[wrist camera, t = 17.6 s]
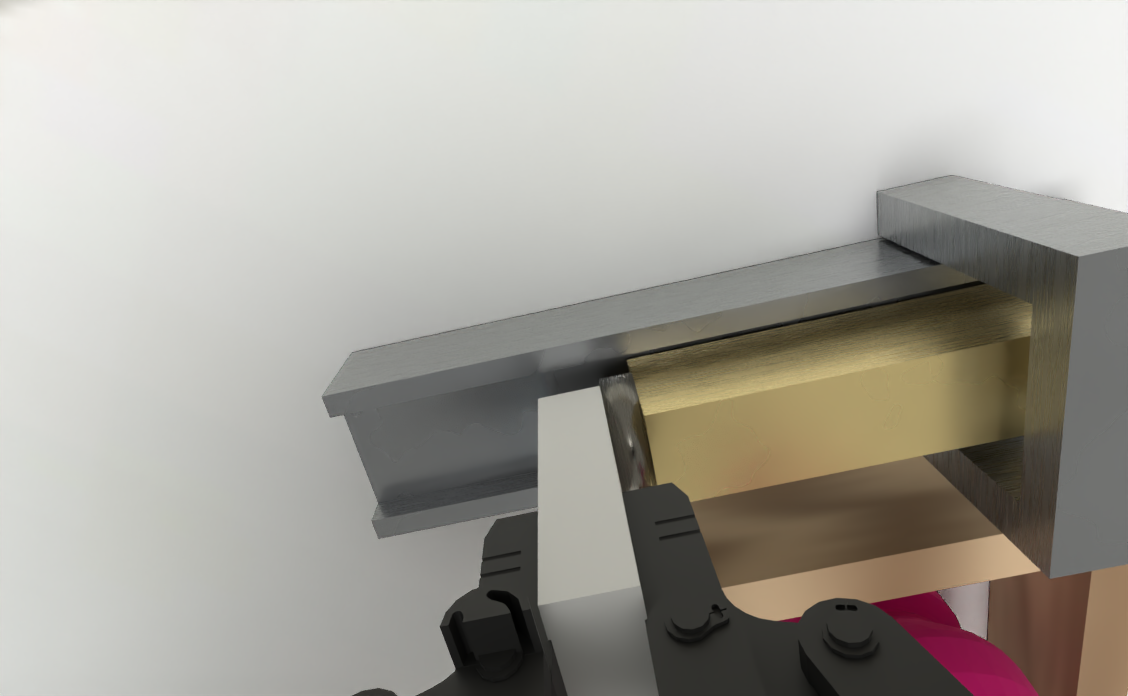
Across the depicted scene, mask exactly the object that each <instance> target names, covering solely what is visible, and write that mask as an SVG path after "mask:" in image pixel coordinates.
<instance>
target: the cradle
mask: <svg viewBox="0 0 1128 696" xmlns="http://www.w3.org/2000/svg"><path fill="white" fill-rule="evenodd" d="M690 503H691V505H692V508H693V511H694V514H695V518H696V519H697V522H698V525H699V528H700V531H701V533H702V536H703V539H704V541H705V544H706V547H707V550H708V552H709V555H710V558H711V561H712V563H713V566H714V569H715V572H716V574H717V577H718V580H719V583H720V585H721V588H722V590H723V592H724V594H725V596H726V597H727V599H728V600H729V601H730V602H731V603H732V604H733V605H734V606H735V607H737V608H739V609H740V610H742V611H743V612H745V613H747V614H749V615H752V616H755V617H758V618H761V619H767V620H773V621H780V620H785V619H790V618H796V617H801V616H802V615H803V614H804V612H805V610H807V609H809V608H810V607H812V606H813V605H815V604H816V603H818V602H820V601H824V600H829V599H833V598H847V599H857V600H860V601H863V602H866V603H874V602H880V601H885V600H890V599H896V598H901V597H906V596H911V595H917V594H922V593H927V592H932V591H938V590H943V589H948V588H953V587H959V586H964V585H969V584H974V583H980V582H985V581H990V597H989V619H988V640H987V641H989V642H990V643H992V644H993V645H995V646H996V647H998V648H999V649H1001V650H1002V651H1003V652H1004V653H1005V654H1006V655H1007V656H1008V657H1009V658H1010V659H1011V660H1012V661H1013V662H1014V663H1015V664H1016V665H1017V666H1018V667H1019V668H1020V669H1021V671H1022V672H1023V673H1024V675H1025V676H1026V678H1027V679H1028V681H1029V682H1030V683H1031V685H1032V686H1033V688H1034V689H1035V690H1036V692H1037V693H1038V695H1039V696H1127V693H1128V564H1126V565H1121V566H1116V567H1111V568H1105V569H1100V570H1095V571H1089V572H1084V573H1079V574H1074V575H1068V576H1063V577H1058V578H1052V579H1049V578H1048V577H1047V576H1046V575H1045V574H1044V573H1043V572H1042V571H1041V570H1040V569H1039V568H1038V567H1037V566H1036V565H1035V564H1033V563H1032V562H1031V561H1030V560H1029V559H1028V558H1027V557H1026V556H1025V555H1024V554H1023V553H1022V552H1021V551H1020V550H1019V549H1018V548H1017V547H1016V546H1015V545H1014V544H1013V543H1012V542H1011V541H1010V540H1009V539H1008V538H1007V537H1006V536H1005V535H1004V534H1003V533H1002V532H1001V531H1000V530H999V529H997V528H996V527H995V526H994V525H993V524H992V523H991V522H990V521H989V520H988V519H987V518H986V517H985V516H984V515H983V514H982V513H981V512H980V511H979V510H978V509H977V508H976V507H975V506H974V505H973V504H972V503H971V502H970V501H969V500H968V499H967V498H966V497H965V496H964V495H962V494H961V493H960V492H959V491H958V490H957V489H956V488H955V487H954V486H953V485H952V484H951V483H950V482H949V481H948V480H947V479H946V478H945V477H944V476H943V475H942V474H941V473H940V472H939V471H938V470H937V469H936V468H935V467H934V466H933V465H932V464H931V463H930V462H929V461H927V460H926V459H925V458H924V457H923V456H919V457H914V458H909V459H904V460H899V461H894V462H889V463H884V464H879V465H874V466H869V467H864V468H859V469H854V470H849V471H844V472H839V473H834V474H829V475H824V476H819V477H814V478H808V479H803V480H798V481H793V482H788V483H783V484H778V485H773V486H768V487H763V488H758V489H753V490H748V491H743V492H738V493H733V494H728V495H723V496H718V497H713V498H708V499H703V500H698V501H693V502H690Z"/></svg>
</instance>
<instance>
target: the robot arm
mask: <svg viewBox="0 0 1128 696" xmlns="http://www.w3.org/2000/svg"><path fill="white" fill-rule="evenodd" d="M482 559H483V562H482V564H481V573H480V575H481V578H480V581H479V588H477V589H474V590H471V591H470V592H468V593H467V594H465V595H464V596H462V597H461V598H459V599H458V600H456V601H455V603H454V604H453V605H452V606H451V607H450V608H449V609H448V611H447V612H446V613H445V615H444V618H443V620H442V623H441V625H440V629H441V631H442V634H443V637H444V639H445V642H446V644H447V647H448V650H449V652H450V655H451V658H452V660H453V663H454V665H455V668H456V670H455V672H454V673H452V674H451V675H450V676H449V677H448V678H447V679H445V680H444V681H443V682H441V683H439V684H438V685H436V686H434V687H433V688H431V689H429V690H427V691H425V692H423V693H420V694H418V695H416V696H974V695H973V694H972V693H971V692H970V691H969V690H968V689H967V688H966V687H965V686H964V685H963V684H961V683H960V682H959V681H958V680H957V679H956V678H955V677H954V676H953V675H952V674H951V673H950V672H949V671H948V670H947V669H946V668H945V667H944V666H943V665H942V664H941V663H940V662H939V661H937V660H936V659H935V658H934V657H933V656H932V655H931V654H930V653H929V652H928V651H927V650H926V649H925V648H924V647H923V646H922V645H921V644H920V643H919V642H918V641H917V640H916V639H914V638H913V637H912V636H911V635H910V634H909V633H908V632H907V631H906V630H905V629H904V628H903V627H902V626H901V625H900V624H899V623H898V622H897V621H896V620H895V619H894V618H893V617H891V616H890V615H888V614H887V613H885V612H884V611H883V610H881V609H880V608H878V607H877V606H875V605H872V604H869V603H866V602H863V601H860V600H857V599H847V598H833V599H829V600H824V601H820V602H818V603H816V604H815V605H813V606H812V607H810V608H809V609H807V610H805V612H804V614H803V615H802V617H801V619H800V621H799V622H798V623H796V622H783V621H773V620H767V619H761V618H758V617H755V616H752V615H749V614H747V613H745V612H743V611H742V610H740V609H739V608H737V607H735V606H734V605H733V604H732V603H731V602H730V601H729V600H728V599H727V597H726V596H725V594H724V592H723V590H722V588H721V585H720V583H719V580H718V577H717V574H716V572H715V569H714V566H713V563H712V561H711V558H710V555H709V552H708V550H707V547H706V544H705V541H704V539H703V536H702V533H701V531H700V528H699V525H698V522H697V519H696V518H695V514H694V511H693V508H692V505H691V503H690V500H689V497H688V495H686V494H685V493H684V492H683V491H682V490H680V489H679V488H678V487H677V486H676V485H674V484H673V483H672V482H671V483H666V484H661V485H656V486H651V487H646V488H641V489H636V490H631V491H627V492H622V488H621V484H620V479H619V474H618V470H617V465H616V461H615V456H614V451H613V447H612V442H611V437H610V432H609V428H608V423H607V418H606V414H605V409H604V404H603V399H602V394H601V391H600V386H596V387H591V388H586V389H582V390H577V391H572V392H567V393H563V394H558V395H553V396H548V397H543V398H539V399H538V511H536V512H531V513H527V514H522V515H517V516H512V517H507V518H502V519H497V520H496V521H495V523H494V525H493V526H492V528H491V529H490V531H489V532H488V534H487V536H486V537H485V539H484V547H483V556H482ZM352 696H397V695H396V694H395V693H394V692H392V691H388V690H384V689H380V688H377V689H371V690H364V691H361V692H359V693H357V694H355V695H352Z"/></svg>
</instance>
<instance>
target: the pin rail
mask: <svg viewBox="0 0 1128 696" xmlns="http://www.w3.org/2000/svg"><path fill="white" fill-rule="evenodd" d="M877 203H878V235H879V236H881V237H883V238H880V239H875V240H871V241H866V242H862V243H857V244H852V245H848V246H843V247H838V248H834V249H829V250H824V251H820V252H815V253H811V254H806V255H801V256H797V257H792V258H787V259H783V260H778V261H774V262H769V263H764V264H760V265H755V266H750V267H746V268H741V269H737V270H732V271H727V272H723V273H718V274H713V275H709V276H704V277H700V278H695V279H690V280H686V281H681V282H676V283H672V284H667V285H663V286H658V287H653V288H649V289H644V290H639V291H635V292H630V293H626V294H621V295H616V296H612V297H607V298H602V299H598V300H593V301H589V302H584V303H579V304H575V305H570V306H565V307H561V308H556V309H552V310H547V311H542V312H538V313H533V314H528V315H524V316H519V317H515V318H510V319H505V320H501V321H496V322H491V323H487V324H482V325H477V326H473V327H468V328H464V329H459V330H454V331H450V332H445V333H440V334H436V335H431V336H427V337H422V338H417V339H413V340H408V341H403V342H399V343H394V344H390V345H385V346H380V347H376V348H371V349H366V350H362V351H357V352H353V353H351V355H350V356H349V358H348V359H347V361H346V362H345V364H344V365H343V366H342V368H341V369H340V371H339V372H338V374H337V375H336V377H335V378H334V379H333V381H332V382H331V384H330V385H329V387H328V388H327V390H326V391H325V392H324V394H323V395H322V398H323V401H324V403H325V406H326V408H327V411H328V413H329V416H330V418H331V417H335V416H340V415H344V416H345V419H346V421H347V424H348V427H349V429H350V432H351V434H352V437H353V439H354V442H355V444H356V447H357V450H358V452H359V455H360V457H361V460H362V462H363V465H364V467H365V470H366V473H367V475H368V478H369V480H370V483H371V485H372V488H373V491H374V493H375V496H376V498H377V501H378V505H377V508H376V511H375V513H374V516H373V519H372V523H373V526H374V528H375V531H376V533H377V536H378V538H379V539H380V538H385V537H390V536H395V535H400V534H405V533H410V532H415V531H420V530H425V529H430V528H435V527H440V526H445V525H449V524H454V523H459V522H464V521H469V520H474V519H479V518H484V517H489V516H494V515H499V514H504V513H509V512H514V511H519V510H524V509H529V508H534V507H538V399H539V398H543V397H548V396H553V395H558V394H563V393H567V392H572V391H577V390H582V389H586V388H591V387H596V386H599V381H598V379H601V378H606V377H610V376H615V375H620V374H625V373H629V370H628V365H627V360H628V359H633V358H638V357H642V356H647V355H652V354H657V353H661V352H666V351H671V350H675V349H680V348H685V347H690V346H694V345H699V344H704V343H709V342H713V341H718V340H723V339H728V338H732V337H737V336H742V335H746V334H751V333H756V332H761V331H765V330H770V329H775V328H780V327H784V326H789V325H794V324H799V323H803V322H808V321H813V320H817V319H822V318H827V317H832V316H836V315H841V314H846V313H851V312H855V311H860V310H865V309H870V308H874V307H879V306H884V305H888V304H893V303H898V302H903V301H907V300H912V299H917V298H922V297H926V296H931V295H936V294H941V293H945V292H950V291H955V290H959V289H964V288H969V287H974V286H978V285H983V284H988V285H990V286H992V287H995V288H997V289H999V290H1001V291H1004V292H1006V293H1008V294H1010V295H1013V296H1015V297H1017V298H1019V299H1021V300H1024V301H1026V302H1028V303H1030V304H1032V319H1031V335H1030V350H1029V365H1028V381H1027V396H1026V412H1025V427H1024V436H1019V437H1014V438H1009V439H1004V440H999V441H994V442H989V443H984V444H979V445H974V446H969V447H964V448H959V449H954V450H949V451H944V452H939V453H934V454H929V455H924V456H923V457H924V458H925V459H926V460H927V461H929V462H930V463H931V464H932V465H933V466H934V467H935V468H936V469H937V470H938V471H939V472H940V473H941V474H942V475H943V476H944V477H945V478H946V479H947V480H948V481H949V482H950V483H951V484H952V485H953V486H954V487H955V488H956V489H957V490H958V491H959V492H960V493H961V494H962V495H964V496H965V497H966V498H967V499H968V500H969V501H970V502H971V503H972V504H973V505H974V506H975V507H976V508H977V509H978V510H979V511H980V512H981V513H982V514H983V515H984V516H985V517H986V518H987V519H988V520H989V521H990V522H991V523H992V524H993V525H994V526H995V527H996V528H997V529H999V530H1000V531H1001V532H1002V533H1003V534H1004V535H1005V536H1006V537H1007V538H1008V539H1009V540H1010V541H1011V542H1012V543H1013V544H1014V545H1015V546H1016V547H1017V548H1018V549H1019V550H1020V551H1021V552H1022V553H1023V554H1024V555H1025V556H1026V557H1027V558H1028V559H1029V560H1030V561H1031V562H1032V563H1033V564H1035V565H1036V566H1037V567H1038V568H1039V569H1040V570H1041V571H1042V572H1043V573H1044V574H1045V575H1046V576H1047V577H1048V578H1049V579H1052V578H1058V577H1063V576H1068V575H1074V574H1079V573H1084V572H1089V571H1095V570H1100V569H1105V568H1111V567H1116V566H1121V565H1126V564H1128V213H1125V212H1120V211H1116V210H1111V209H1107V208H1102V207H1098V206H1093V205H1089V204H1084V203H1080V202H1075V201H1071V200H1066V199H1057V198H1053V197H1048V196H1044V195H1039V194H1035V193H1030V192H1026V191H1021V190H1017V189H1012V188H1008V187H1003V186H999V185H994V184H990V183H985V182H981V181H977V180H972V179H968V178H963V177H959V176H954V175H951V176H946V177H942V178H937V179H933V180H928V181H924V182H919V183H915V184H910V185H905V186H901V187H896V188H892V189H887V190H883V191H878V192H877Z"/></svg>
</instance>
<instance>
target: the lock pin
mask: <svg viewBox="0 0 1128 696" xmlns="http://www.w3.org/2000/svg"><path fill="white" fill-rule="evenodd" d="M1031 319H1032V304H1030V303H1028V302H1026V301H1024V300H1021V299H1019V298H1017V297H1015V296H1013V295H1010V294H1008V293H1006V292H1004V291H1001V290H999V289H997V288H995V287H992V286H990V285H988V284H983V285H978V286H974V287H969V288H964V289H959V290H955V291H950V292H945V293H941V294H936V295H931V296H926V297H922V298H917V299H912V300H907V301H903V302H898V303H893V304H888V305H884V306H879V307H874V308H870V309H865V310H860V311H855V312H851V313H846V314H841V315H836V316H832V317H827V318H822V319H817V320H813V321H808V322H803V323H799V324H794V325H789V326H784V327H780V328H775V329H770V330H765V331H761V332H756V333H751V334H746V335H742V336H737V337H732V338H728V339H723V340H718V341H713V342H709V343H704V344H699V345H694V346H690V347H685V348H680V349H675V350H671V351H666V352H661V353H657V354H652V355H647V356H642V357H638V358H633V359H628V360H627V365H628V370H629V373H625V374H620V375H615V376H610V377H606V378H601V379H598V381H599V386H600V391H601V394H602V399H603V404H604V409H605V414H606V418H607V423H608V428H609V432H610V437H611V442H612V447H613V451H614V456H615V461H616V465H617V470H618V474H619V479H620V484H621V488H622V492H627V491H631V490H636V489H641V488H646V487H651V486H656V485H661V484H666V483H671V482H672V483H673V484H674V485H676V486H677V487H678V488H679V489H680V490H682V491H683V492H684V493H685V494H686V495H688V497H689V500H690V502H693V501H698V500H703V499H708V498H713V497H718V496H723V495H728V494H733V493H738V492H743V491H748V490H753V489H758V488H763V487H768V486H773V485H778V484H783V483H788V482H793V481H798V480H803V479H808V478H814V477H819V476H824V475H829V474H834V473H839V472H844V471H849V470H854V469H859V468H864V467H869V466H874V465H879V464H884V463H889V462H894V461H899V460H904V459H909V458H914V457H919V456H924V455H929V454H934V453H939V452H944V451H949V450H954V449H959V448H964V447H969V446H974V445H979V444H984V443H989V442H994V441H999V440H1004V439H1009V438H1014V437H1019V436H1024V427H1025V412H1026V396H1027V381H1028V365H1029V350H1030V335H1031Z"/></svg>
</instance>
